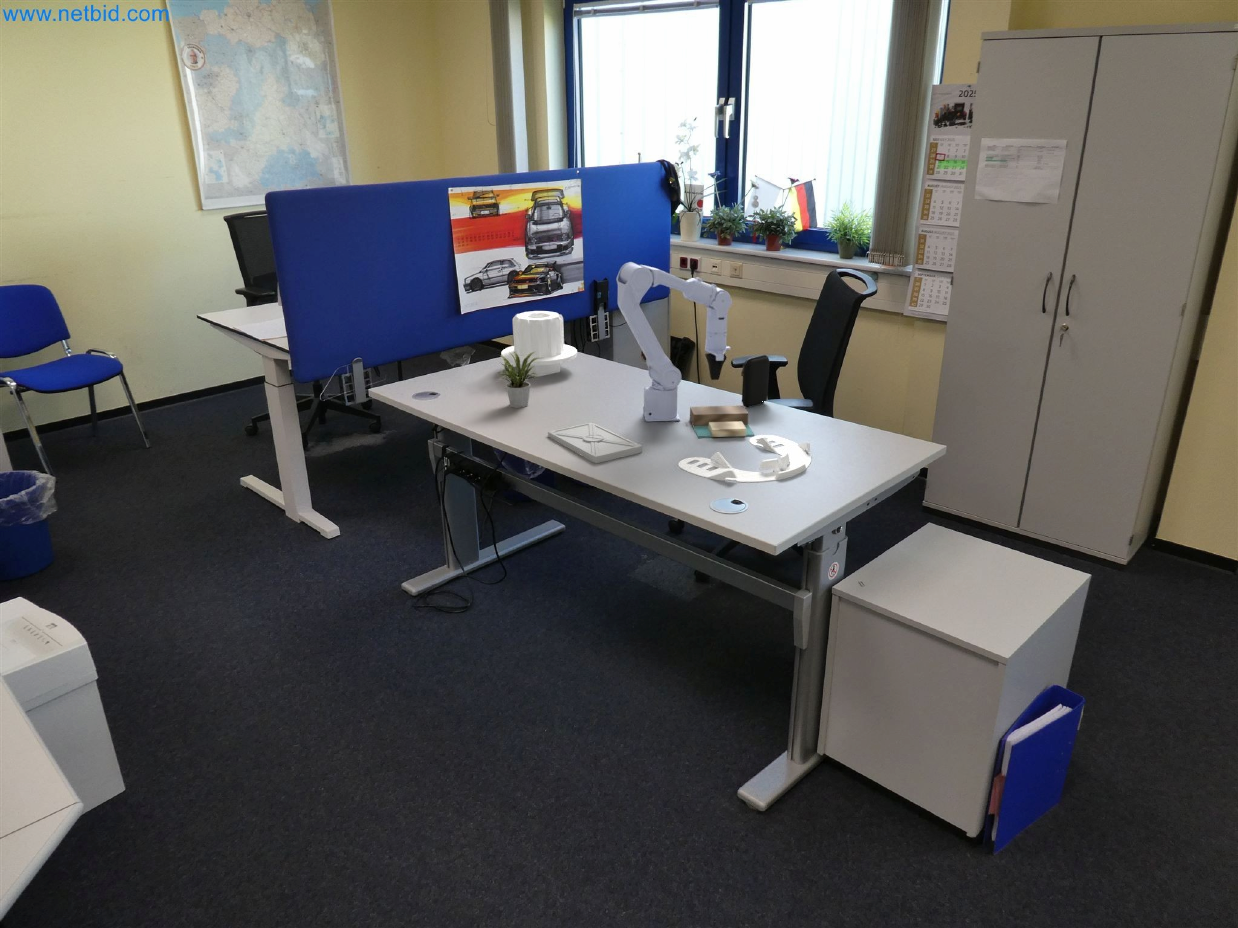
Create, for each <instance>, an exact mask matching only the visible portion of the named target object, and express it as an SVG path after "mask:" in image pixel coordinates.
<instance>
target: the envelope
mask: <svg viewBox="0 0 1238 928" xmlns="http://www.w3.org/2000/svg"><path fill="white" fill-rule="evenodd" d="M547 437H549V438H551V439H553V441H555V442H558V443H559V444H561V445H563V446H565V447H566V448H568V449H570V451H571V450H572V451H573V452H575V451H576V452H577V453H576V452H575V453H576V454H578V453H579V454H578V455H580V454H581V455H580V456H582V457H583V456H584V457H583V458H585V457H586V458H585V459H587V460H588V461H590V462H592V463H594V464H599V463H604V462H607V461H611V460H612V461H613V460H616V459H621V458H623V457H629V456H631V455H632V456H633V455H636V454H641V453H643V446H642V445H641V444H639V443H637V442H635V441H633V440H630V439H628V438H627V437H624V436H622V435H621V434H617V433H616V432H613V431H612V430H610V429H608V428H605V427H603V426H601V425H599V424H596V423H594V422H587V423H582V424H577V425H573V426H568V427H564V428H559V429H554V430H549V431H547ZM620 457H621V458H620Z"/></svg>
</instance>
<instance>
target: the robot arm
mask: <svg viewBox="0 0 1238 928" xmlns="http://www.w3.org/2000/svg"><path fill="white" fill-rule="evenodd" d="M616 284H617V305H618V308H619V311H620V312H621V314H622V316H623V317H624V319H625V321H626V323H627V325H628V327H629V329H630V331H631V332H632V335H633V336H634V339H635V340H636V341H637V344H638V345H639V347H640V349H641V351H642V353H643V355H644V357H645V359H646V361H645V363H646V365H647V368H648V376H649V378H650V379H651V380H652V382H651V386H645V387H644V388H643V408H642V409H643V410H642V411H643V415H644V419H645V422H673V421H674V422H677V421H680V420H681V419H680V415H679V412H678V388H679V387H678V386H679V385H680V383H681V381H682V373H681V371H680V369H679V368H677V367H676V366H675V365H674V364H673V363H672V360H670V359H669V357H668V356H667V355H666V354H665V352H664V350H663V347H662V346H661V343H660V342H659V340H658V339H657V337H656V334H655V333H654V330H653V329H652V327H651V326H650V323H649V321H648V319H647V318H646V315H645V314H644V311H643V310H642V308H641V306H640V303H641V301H642V298H643V297H644V296H645V294H647V292H648V290H649V289H650V288H651V287H652V288H655V287H657V286H659V285H660V286H661V285H662V286H665V287H668V288H670V289H673V290H677V291H679V292H681V293H682V295H683V298H684V299H685V300H689V301H692V302H694V303H697V304H700V305H702V306H704V307H705V306H706V328H705V333H706V334H705V346H704V351H706V352H707V353H706V352H705V353H704V356H705V358H706V361H707V364H708V370H709V376H710V380H711V381H712V380H713V381H718V380H719V379H720V376H721V373H722V369H723V366H724V363H725V362H726V361H727V355H726V352H727V351H731V346H727V338H728V337H727V336H728V333H727V332H728V315H729V314H728V313H729V309H730V308H731V307H732V304H733V299H732V297H731V294H730V293H729V292H728V291H727V290H725V289H722V288H721V287H718V286H717V285H716V284H714V283H711V284H710V283H707V282H704V281H703V279H702V278H700V277H697V276H696V277H691V278H689V279H687V280H685V279H683V278H680V277H679V276H677V275H673V274H671V273H668V272H667V271H664V270H661V269H659V268H656V267H653V266H652V267H651V266H649V265H645V264H644V265H643V264H638V263H636V262H632V261H629V262H626V263H624V264H623V265H622V266H621V267H620V269H619V271H618V274H617V276H616Z"/></svg>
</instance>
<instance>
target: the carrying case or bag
mask: <svg viewBox="0 0 1238 928" xmlns="http://www.w3.org/2000/svg"><path fill="white" fill-rule="evenodd" d="M741 369H742V370H741V374H740V376H741V377H742V387H741V388H742V389H741V403H742V405H743V406H744V407H745V409H746V408H747V409H748V408H752V407H755V406H760V405H763V404H764V403H765V402H766V401H767V400H768V395H769V394H768V391H769V379H770V378H769V377H770V359H769V357H768V356H767V355H766V354H762V355H761V354H760V355H757V356H753V357H749V358H747V359H746V360H745V361H744V363H743V365H742V368H741ZM762 401H763V402H762ZM764 401H765V402H764Z"/></svg>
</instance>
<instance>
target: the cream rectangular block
mask: <svg viewBox="0 0 1238 928" xmlns="http://www.w3.org/2000/svg"><path fill="white" fill-rule="evenodd" d="M709 431H710V433H711V436H712V437H711V438H726V436H735V437H747V436H746V427H745V426H744V424H743V422H742V421H738V422H709Z"/></svg>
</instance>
